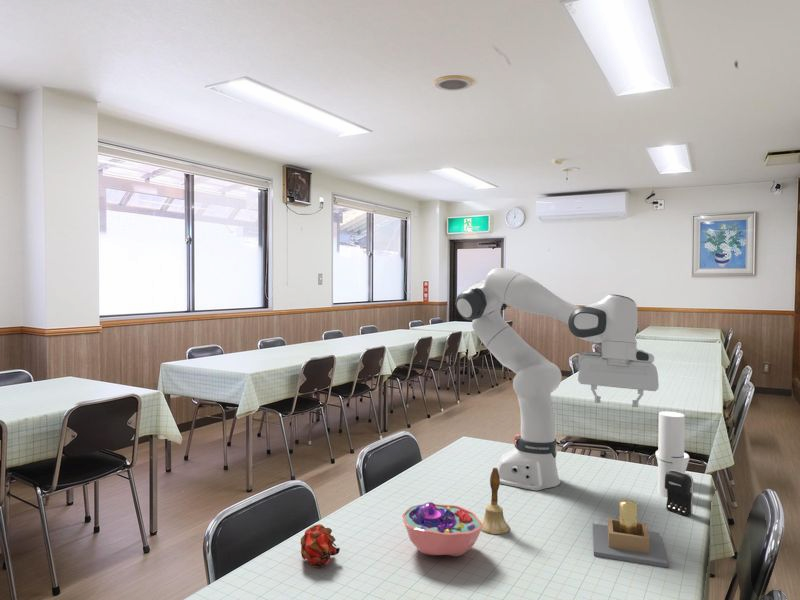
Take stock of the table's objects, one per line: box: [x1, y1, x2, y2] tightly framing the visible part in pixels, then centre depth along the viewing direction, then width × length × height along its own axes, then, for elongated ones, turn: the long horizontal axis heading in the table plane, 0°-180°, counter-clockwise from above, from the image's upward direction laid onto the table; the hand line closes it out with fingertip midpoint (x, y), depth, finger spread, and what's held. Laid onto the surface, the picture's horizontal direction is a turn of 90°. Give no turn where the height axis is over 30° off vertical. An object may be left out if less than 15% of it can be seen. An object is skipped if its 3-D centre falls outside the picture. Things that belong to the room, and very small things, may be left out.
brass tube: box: [619, 498, 638, 535], centre depth 131 cm, size 4×4×10 cm
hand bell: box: [480, 467, 511, 535], centre depth 141 cm, size 8×8×16 cm
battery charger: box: [665, 470, 694, 517], centre depth 151 cm, size 7×4×11 cm, turn 33°
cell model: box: [401, 501, 482, 557], centre depth 129 cm, size 17×20×11 cm
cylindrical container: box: [657, 410, 686, 498], centre depth 164 cm, size 7×7×25 cm
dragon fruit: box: [300, 523, 341, 569], centre depth 124 cm, size 8×8×12 cm
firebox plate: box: [592, 517, 669, 568], centre depth 132 cm, size 16×16×4 cm
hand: (616, 404), depth 143 cm, fingers open, 8 cm apart
